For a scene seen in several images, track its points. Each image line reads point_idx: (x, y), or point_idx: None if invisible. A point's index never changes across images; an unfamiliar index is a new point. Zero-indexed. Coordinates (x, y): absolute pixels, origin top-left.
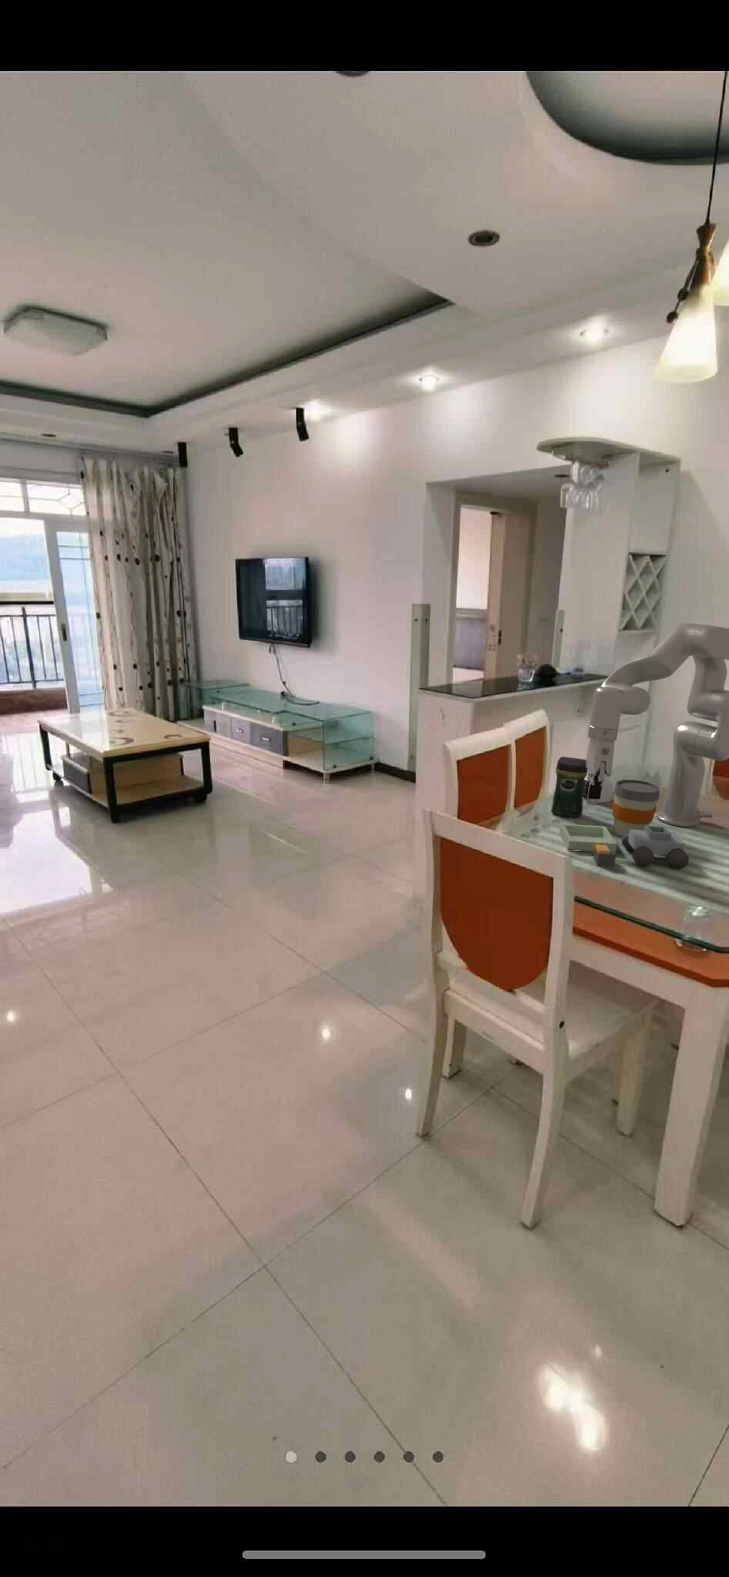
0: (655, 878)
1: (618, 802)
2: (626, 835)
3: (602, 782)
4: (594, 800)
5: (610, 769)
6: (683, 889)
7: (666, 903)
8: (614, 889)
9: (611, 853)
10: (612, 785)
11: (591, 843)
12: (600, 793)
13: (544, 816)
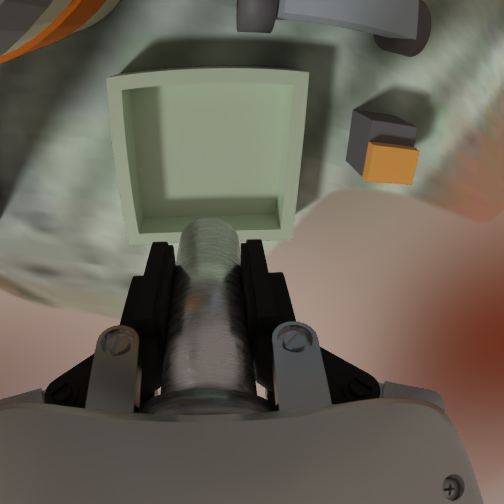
0: (458, 37)
1: (28, 38)
2: (259, 19)
3: (319, 357)
4: (239, 253)
5: (472, 478)
6: (497, 12)
7: None
8: (488, 169)
9: (409, 138)
10: None
11: (299, 166)
12: (267, 268)
13: (19, 248)
